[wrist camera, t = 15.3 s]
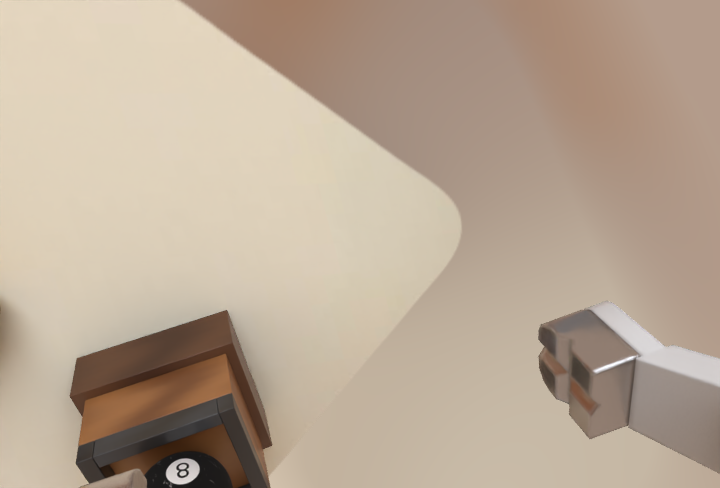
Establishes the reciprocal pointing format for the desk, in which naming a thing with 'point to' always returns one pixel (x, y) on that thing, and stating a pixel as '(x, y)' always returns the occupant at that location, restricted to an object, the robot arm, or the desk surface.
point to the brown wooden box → (171, 403)
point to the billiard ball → (188, 472)
